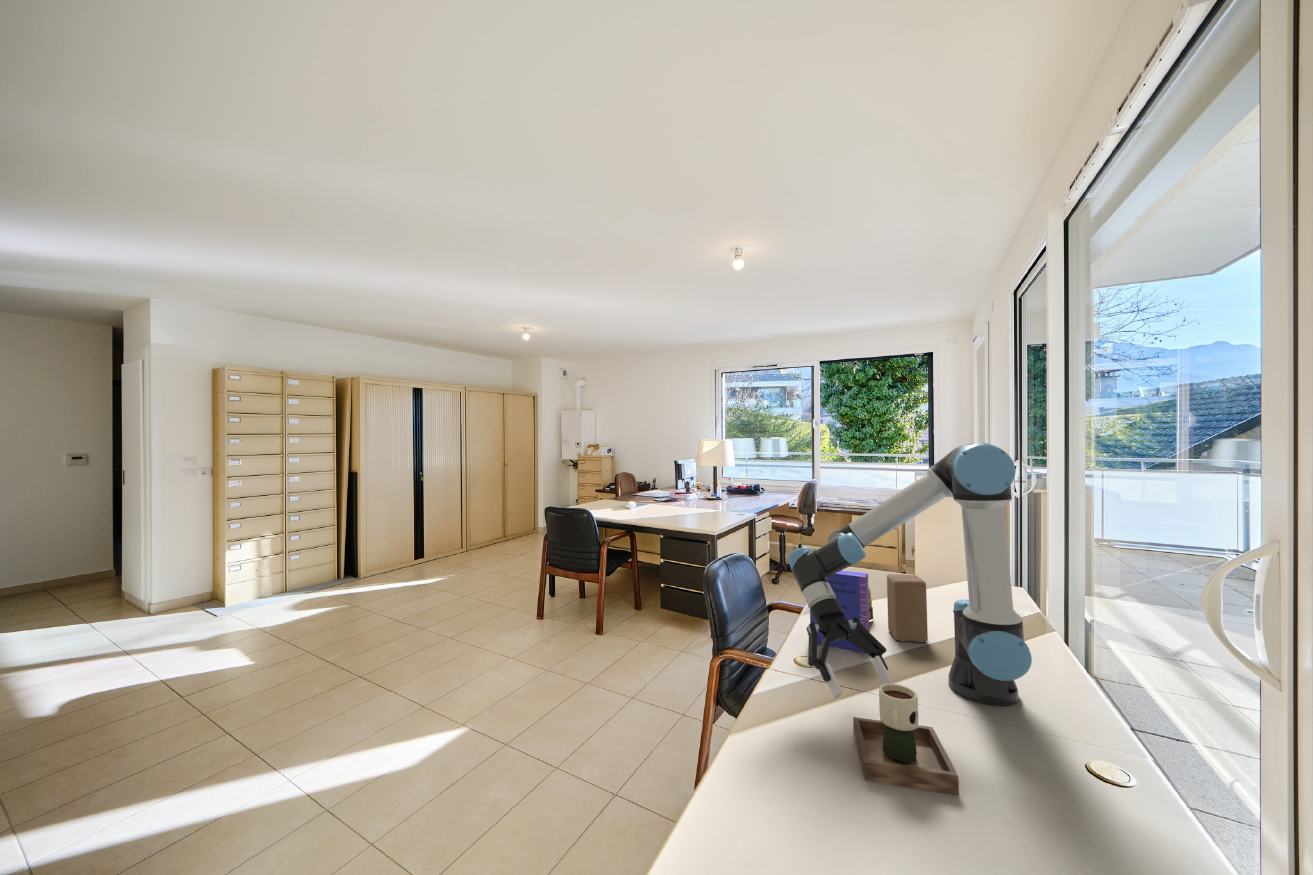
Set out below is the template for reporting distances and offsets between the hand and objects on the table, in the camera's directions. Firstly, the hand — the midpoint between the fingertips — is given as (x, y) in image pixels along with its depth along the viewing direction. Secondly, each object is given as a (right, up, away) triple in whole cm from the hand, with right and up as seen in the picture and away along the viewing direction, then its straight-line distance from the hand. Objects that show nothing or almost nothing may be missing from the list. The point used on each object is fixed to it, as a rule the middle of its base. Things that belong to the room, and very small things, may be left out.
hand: (864, 691), depth 108 cm
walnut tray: (+3, -9, -11) cm, 14 cm away
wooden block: (+38, -10, +53) cm, 66 cm away
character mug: (+3, -8, -11) cm, 13 cm away
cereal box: (+13, -10, +47) cm, 50 cm away
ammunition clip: (+29, -11, +66) cm, 73 cm away
